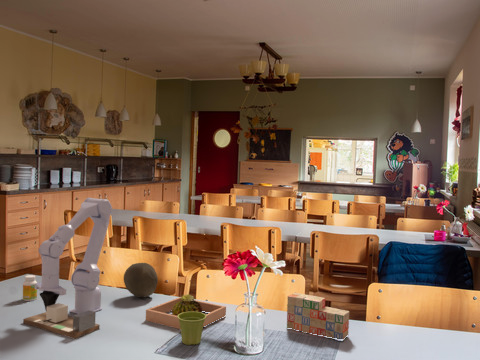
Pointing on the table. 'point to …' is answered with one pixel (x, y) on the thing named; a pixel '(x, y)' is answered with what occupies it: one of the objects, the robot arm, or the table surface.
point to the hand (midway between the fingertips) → (49, 311)
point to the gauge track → (66, 324)
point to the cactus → (186, 305)
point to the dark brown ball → (141, 279)
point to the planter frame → (160, 317)
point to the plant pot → (191, 327)
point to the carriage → (56, 313)
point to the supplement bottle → (29, 288)
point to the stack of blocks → (316, 316)
